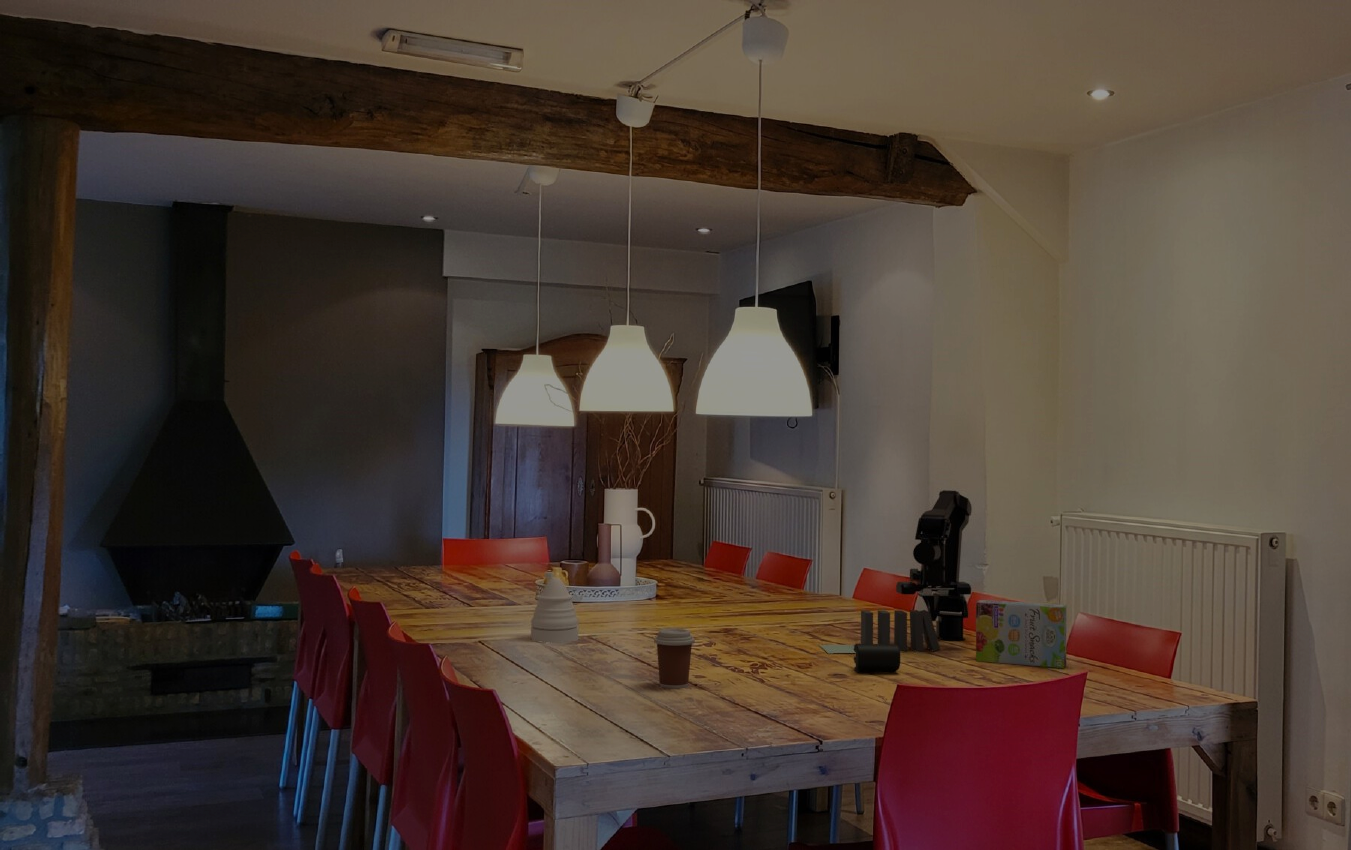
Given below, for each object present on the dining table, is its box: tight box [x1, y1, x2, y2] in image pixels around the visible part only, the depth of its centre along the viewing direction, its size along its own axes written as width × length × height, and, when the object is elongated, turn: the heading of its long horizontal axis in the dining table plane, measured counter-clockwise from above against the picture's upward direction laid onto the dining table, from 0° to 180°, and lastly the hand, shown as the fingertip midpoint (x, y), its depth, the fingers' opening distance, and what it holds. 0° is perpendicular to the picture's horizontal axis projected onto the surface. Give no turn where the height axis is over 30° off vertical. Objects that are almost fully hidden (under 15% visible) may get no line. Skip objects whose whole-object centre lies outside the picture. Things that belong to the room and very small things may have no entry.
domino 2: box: [893, 609, 908, 652], centre depth 297 cm, size 2×5×10 cm, turn 4°
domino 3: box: [909, 609, 925, 652], centre depth 298 cm, size 2×5×10 cm, turn 5°
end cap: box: [853, 642, 901, 673], centre depth 267 cm, size 10×7×7 cm
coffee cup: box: [653, 627, 696, 689], centre depth 250 cm, size 9×9×12 cm
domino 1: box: [877, 609, 891, 644], centre depth 297 cm, size 2×5×10 cm, turn 4°
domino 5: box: [860, 609, 874, 644], centre depth 297 cm, size 2×5×10 cm, turn 5°
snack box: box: [975, 599, 1067, 669], centre depth 280 cm, size 21×6×15 cm, turn 65°
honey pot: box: [530, 571, 579, 644], centre depth 308 cm, size 13×13×18 cm
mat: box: [818, 644, 856, 655], centre depth 296 cm, size 9×12×1 cm
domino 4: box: [919, 609, 941, 652], centre depth 298 cm, size 2×5×10 cm, turn 4°
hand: (933, 620), depth 298 cm, fingers closed
